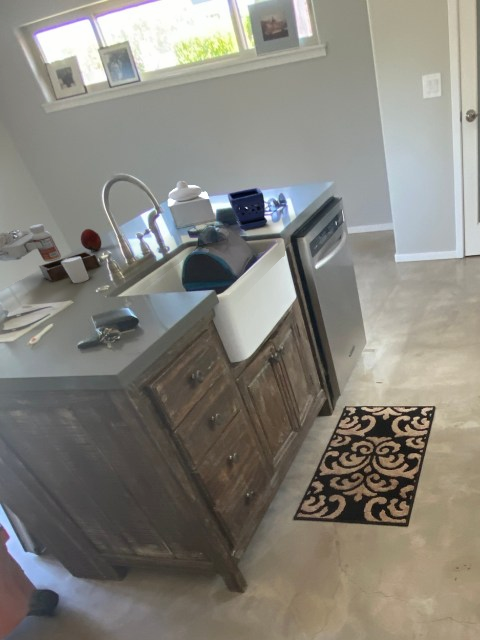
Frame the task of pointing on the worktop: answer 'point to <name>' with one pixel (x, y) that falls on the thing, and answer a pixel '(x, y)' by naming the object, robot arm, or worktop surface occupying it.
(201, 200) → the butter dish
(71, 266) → the white cup
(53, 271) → the brown wooden tray
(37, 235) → the pill bottle
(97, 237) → the apple
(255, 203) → the flower pot
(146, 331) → the worktop surface
